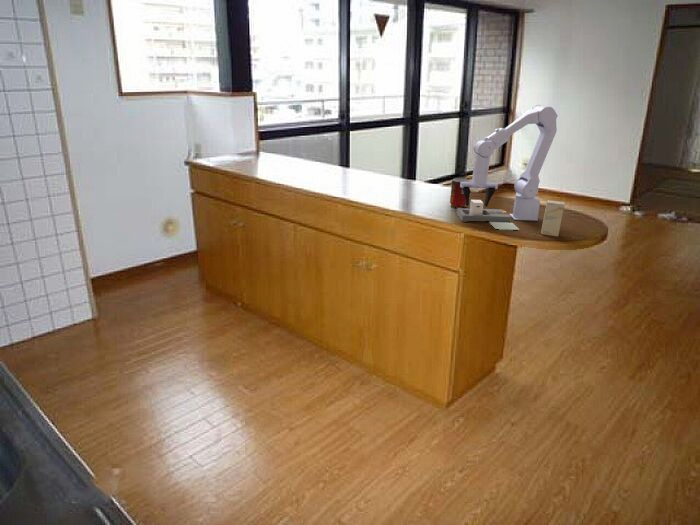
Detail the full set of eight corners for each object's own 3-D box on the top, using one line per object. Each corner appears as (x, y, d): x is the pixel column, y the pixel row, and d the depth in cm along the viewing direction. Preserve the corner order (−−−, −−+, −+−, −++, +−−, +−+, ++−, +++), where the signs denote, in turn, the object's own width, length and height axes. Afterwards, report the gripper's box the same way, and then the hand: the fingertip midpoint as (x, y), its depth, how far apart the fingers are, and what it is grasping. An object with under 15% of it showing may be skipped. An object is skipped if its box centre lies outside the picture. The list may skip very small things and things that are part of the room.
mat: (512, 223, 201) (512, 222, 200) (519, 230, 192) (519, 229, 192) (489, 223, 200) (489, 221, 200) (495, 230, 192) (495, 228, 192)
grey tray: (502, 215, 212) (502, 208, 211) (509, 222, 202) (510, 215, 201) (456, 213, 212) (457, 206, 211) (461, 221, 202) (462, 214, 201)
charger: (478, 216, 209) (480, 199, 207) (481, 220, 205) (483, 203, 202) (468, 216, 209) (470, 199, 207) (471, 219, 204) (473, 202, 202)
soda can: (469, 206, 224) (472, 178, 219) (459, 209, 219) (462, 181, 215) (455, 203, 228) (458, 176, 224) (446, 206, 224) (448, 178, 219)
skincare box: (540, 234, 189) (546, 202, 184) (541, 231, 192) (546, 199, 188) (558, 236, 187) (564, 204, 182) (558, 233, 190) (564, 201, 186)
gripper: (464, 173, 196) (460, 207, 201) (501, 174, 197) (497, 208, 201) (460, 169, 203) (456, 203, 208) (496, 171, 203) (492, 204, 208)
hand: (476, 205), depth 205 cm, fingers open, 7 cm apart
